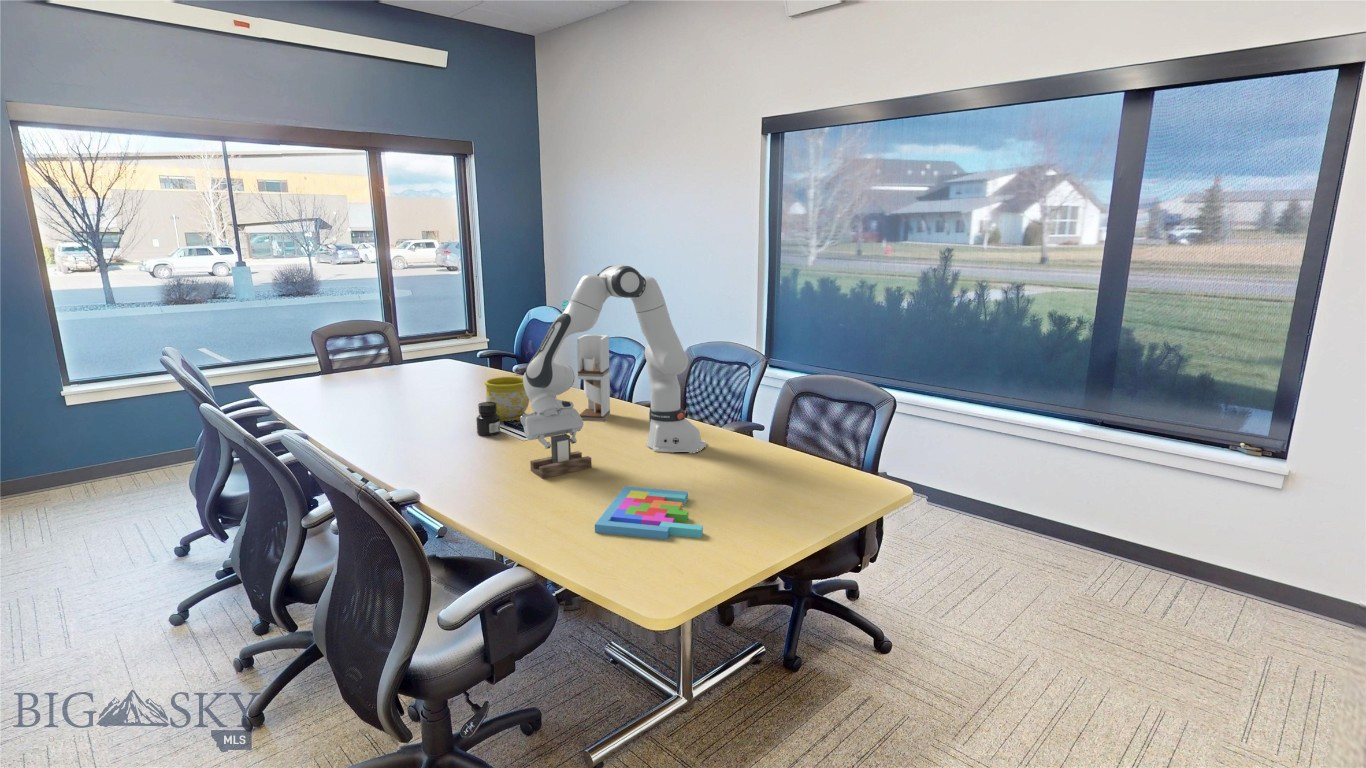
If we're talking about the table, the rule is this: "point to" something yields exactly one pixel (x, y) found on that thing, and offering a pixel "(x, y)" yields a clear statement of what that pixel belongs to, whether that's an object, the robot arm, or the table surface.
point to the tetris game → (648, 514)
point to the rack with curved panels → (594, 375)
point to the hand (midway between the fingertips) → (561, 445)
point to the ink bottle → (488, 419)
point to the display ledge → (560, 465)
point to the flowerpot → (507, 397)
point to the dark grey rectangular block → (560, 448)
